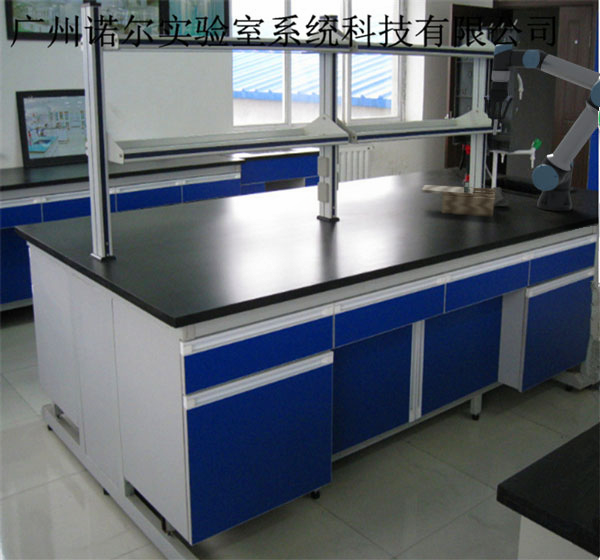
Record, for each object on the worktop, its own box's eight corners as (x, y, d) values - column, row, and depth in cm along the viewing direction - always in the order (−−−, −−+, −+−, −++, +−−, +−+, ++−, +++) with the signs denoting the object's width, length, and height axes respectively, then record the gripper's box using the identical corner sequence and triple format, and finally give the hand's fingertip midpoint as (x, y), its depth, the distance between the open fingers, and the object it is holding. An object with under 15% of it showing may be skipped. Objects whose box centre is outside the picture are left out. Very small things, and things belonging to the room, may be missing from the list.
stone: (500, 182, 333) (488, 184, 327) (513, 199, 330) (501, 201, 323) (487, 196, 340) (475, 198, 333) (500, 212, 336) (487, 214, 330)
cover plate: (473, 190, 323) (474, 182, 322) (472, 196, 312) (472, 187, 311) (424, 187, 329) (425, 179, 327) (421, 192, 318) (422, 184, 316)
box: (493, 210, 324) (495, 189, 321) (492, 216, 311) (494, 195, 308) (444, 206, 330) (445, 185, 327) (441, 212, 317) (443, 191, 314)
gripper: (514, 80, 320) (509, 134, 328) (485, 80, 323) (480, 132, 331) (515, 81, 313) (509, 136, 321) (484, 80, 317) (479, 134, 324)
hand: (494, 134), depth 326 cm, fingers closed
